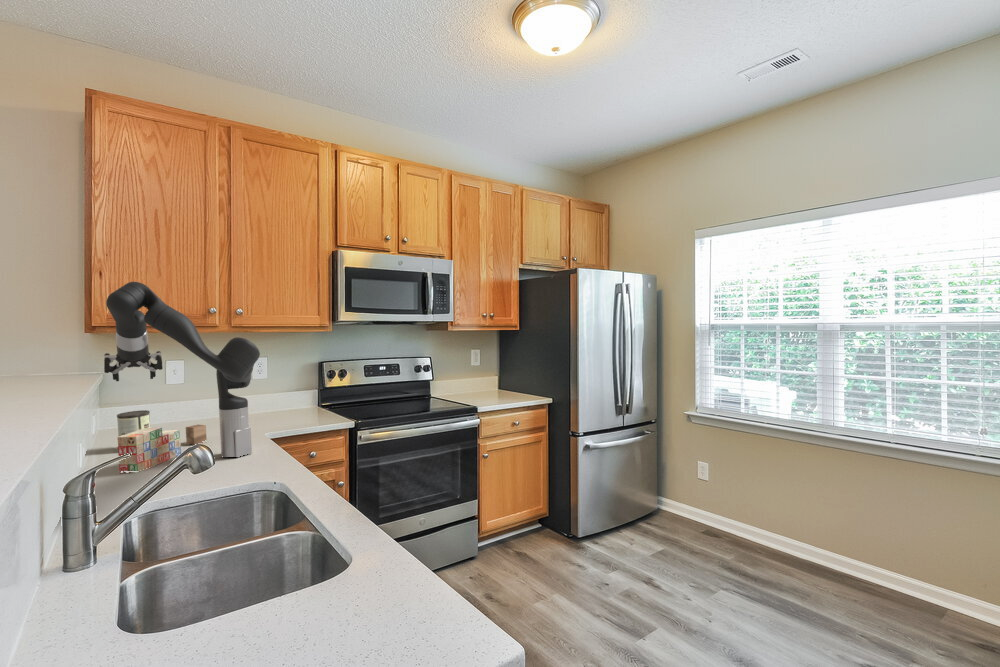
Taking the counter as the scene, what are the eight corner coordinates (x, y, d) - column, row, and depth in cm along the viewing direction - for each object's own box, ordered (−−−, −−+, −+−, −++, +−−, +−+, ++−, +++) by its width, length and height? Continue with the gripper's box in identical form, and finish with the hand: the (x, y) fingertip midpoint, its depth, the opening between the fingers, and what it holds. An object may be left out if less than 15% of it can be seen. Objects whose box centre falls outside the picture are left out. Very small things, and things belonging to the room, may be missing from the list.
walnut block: (206, 442, 199) (205, 425, 199) (194, 445, 194) (193, 427, 194) (198, 441, 201) (198, 424, 201) (186, 444, 197) (185, 427, 196)
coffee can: (122, 447, 195) (120, 412, 194) (153, 443, 199) (152, 409, 199) (115, 453, 185) (113, 416, 185) (148, 449, 190) (146, 413, 189)
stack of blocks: (164, 455, 182) (162, 422, 181) (181, 454, 181) (179, 421, 181) (119, 473, 160) (116, 436, 160) (138, 473, 160) (135, 435, 160)
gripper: (100, 351, 138) (105, 389, 147) (162, 349, 146) (163, 385, 156) (101, 333, 142) (106, 371, 152) (161, 331, 150) (162, 367, 160)
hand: (135, 378), depth 154 cm, fingers open, 8 cm apart
